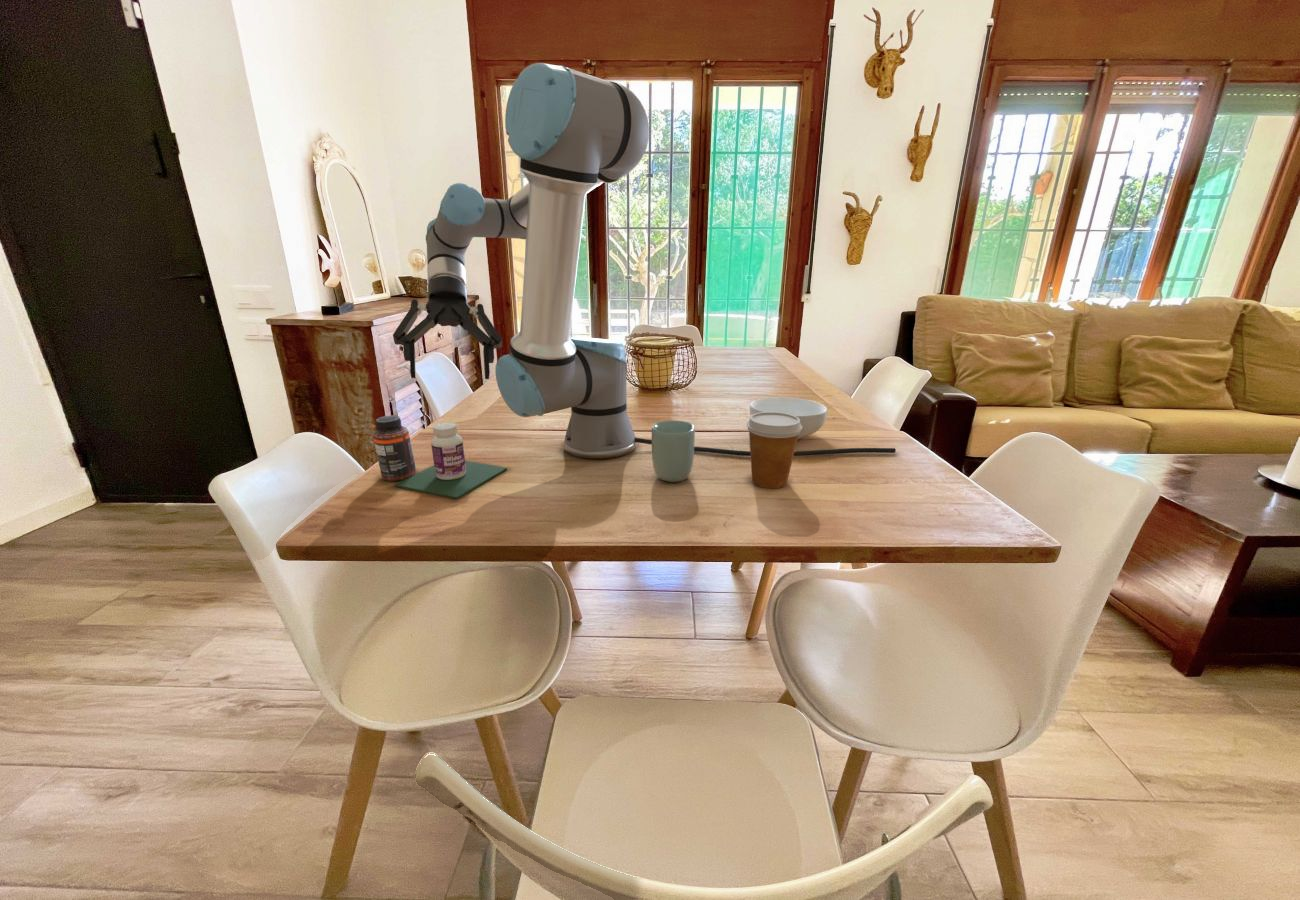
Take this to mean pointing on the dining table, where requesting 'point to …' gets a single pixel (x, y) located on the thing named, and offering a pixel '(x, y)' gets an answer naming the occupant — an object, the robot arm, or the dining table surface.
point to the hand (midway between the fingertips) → (451, 375)
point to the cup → (673, 449)
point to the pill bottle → (448, 452)
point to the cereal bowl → (794, 411)
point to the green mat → (451, 488)
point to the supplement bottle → (393, 449)
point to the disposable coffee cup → (772, 447)
